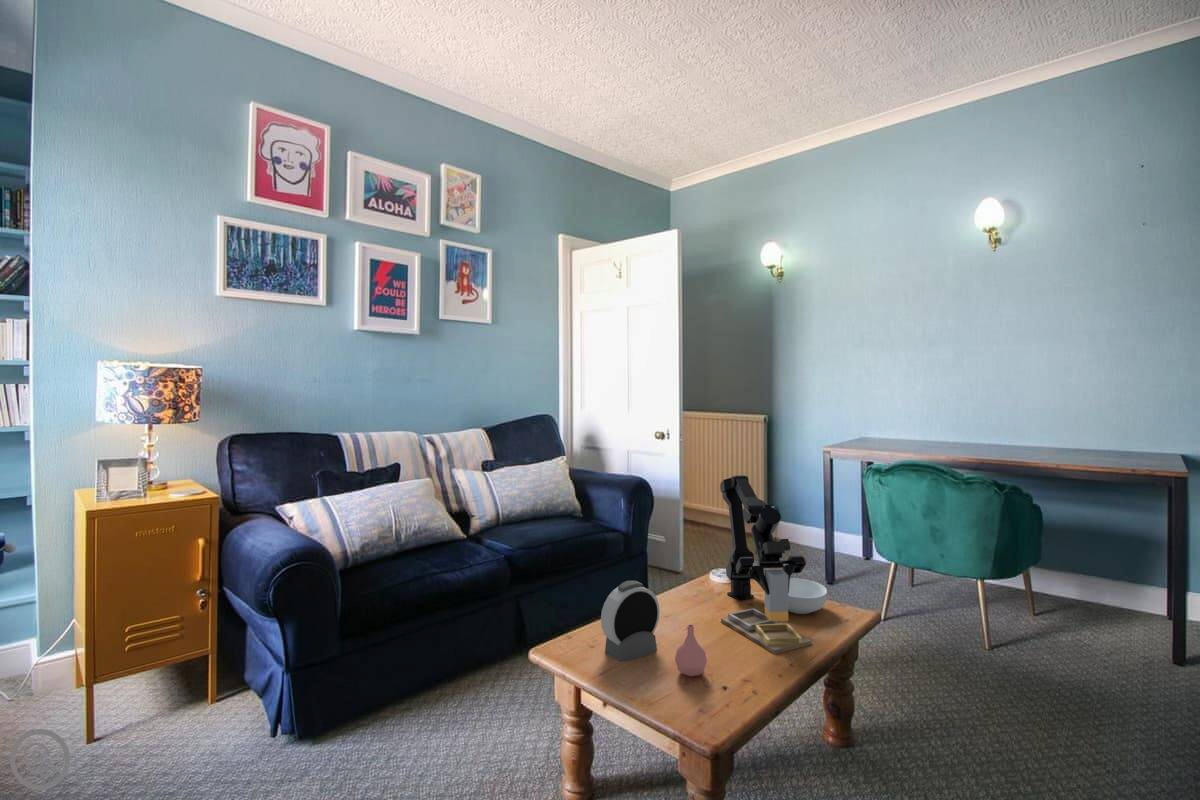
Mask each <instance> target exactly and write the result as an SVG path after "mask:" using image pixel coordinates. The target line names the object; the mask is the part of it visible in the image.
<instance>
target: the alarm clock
mask: <svg viewBox="0 0 1200 800" xmlns="http://www.w3.org/2000/svg"><path fill="white" fill-rule="evenodd" d="M660 614H661V613H660V604H659V600H658V598H657V596H656V595H655V593H654V592H653V591H651V590H650V589H648V588H646V587H644V586H643V583H641V582H639V581H637V580H625V581H623V582H621V583H620V584H619V585H618V586H617V587H616V588H614V589H613V590H612V591H611V592H610V593H609V595H608V596H607V597H606V600H605V601H604V603H603V606H602V609H601V615H600V622H601V625H600V626H601V629H602V632H603V634H604V635H605V637H606V638H605V639H606V640H605V641H606V642H605V647H604V652H606V654H608V655H609V656H611V657H612V658H614V659H615V660H617V661H619V662H627V661H633V660H638V659H642V658H645V657H646V656H649V655H651V654H652V653H654V652H656V651H657V650H658V647H657V639H656V635H655V634H654V633H655V631H656V629H657V627H658V624H659V620H660Z"/></svg>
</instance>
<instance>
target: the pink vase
mask: <svg viewBox="0 0 1200 800" xmlns="http://www.w3.org/2000/svg"><path fill="white" fill-rule="evenodd" d="M674 661H675V664H676V666H677V667H676V668H677V670H678V671H679V672H680V673H681V674H683V675H686V676H688V677H695V676H700V675H702V674H704V672H705V668H706V665H707V662H708V660H707V654H706V650H705V649H704V648H703V647H702V646H701V645H700V644H699V643H698V641H697V639H696V637H695V626H694V624H688V625H687V635H686V637H685V639H684V641H683V642H682V643H681V644H680V645H679V646H678V647H677V648H676V652H675V656H674Z"/></svg>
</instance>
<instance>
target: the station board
mask: <svg viewBox="0 0 1200 800" xmlns="http://www.w3.org/2000/svg"><path fill="white" fill-rule="evenodd" d="M720 622H721V623H722V624H724V625H726V626H727V627H729V628H730V629H732V630H734V631H736V632H737V633H739V634H740V635H743V636H744V637H745V638H747V639H748V640H751V641H752V642H754V643H755V644H757V645H759V646H760V647H762V648H764V649H765V650H767V651H769V652H771V653H772V654H774V655H777V654H780V653H783V652H788V651H792V650H796V649H798V648H803V647H806V646H810V645H812V644H813V641H812V639H809V638H808V637H806V636H804V635H803V634H800V633H798V632H797V631H796V630H795V629H794V628H793V626H791V625H790V624H789V623H787V622H786V623H785V622H784V623H783V622H782V623H780V622H779V621H770V620H769V619H768V618H767V617H766V615H765V612H761V611H760V610H758V609H756V608H754V607H753V608H748V609H743V610H740V611H734V612H730V613H728V614H727V616H726V617H725V616H724V617H722V618H720Z"/></svg>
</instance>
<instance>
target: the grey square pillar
mask: <svg viewBox="0 0 1200 800" xmlns="http://www.w3.org/2000/svg"><path fill="white" fill-rule="evenodd" d="M764 575H765V578H766V581H767V584H768V588H769V595H767V594H766V592H765V591H764V614H765V615H766V617H767V618H768V619H769V620H770V621H776V622H782V621H787V622H788V621H789V611H788V574H786V573H785V572H784V571H783V570H782V569H770V570H769V569H767V570H765V569H764Z"/></svg>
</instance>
